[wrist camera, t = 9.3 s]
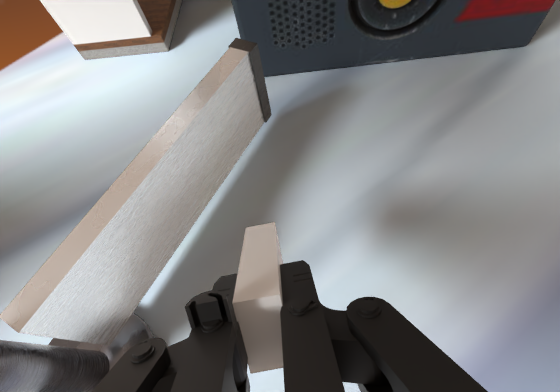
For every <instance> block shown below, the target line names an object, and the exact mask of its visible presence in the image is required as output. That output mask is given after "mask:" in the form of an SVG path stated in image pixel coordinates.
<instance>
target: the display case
mask: <svg viewBox="0 0 560 392" xmlns="http://www.w3.org/2000/svg"><path fill="white" fill-rule="evenodd" d="M40 1H41V3H42V4H43V5H44V6H45V8H46V9H47V10H48V12H49V13H50V14H51V16H52V17H53V18H54V20H55V21H56V22H57V24H58V25H59V26H60V28H61V29H62V30H63V32H64V33H65V34H66V36H67V37H68V38H69V40H70V41H71V42H72V44H73V45H74V46H75V47H76V49H77V50H78V51H79V53H80V54H81V55H82V57H83V58H84V59H85V60H88V59H98V58H108V57H117V56H127V55H137V54H147V53H157V52H166V51H169V47H170V43H171V40H172V36H173V32H174V29H175V25H176V22H177V18H178V14H179V11H180V7H181V3H182V0H40Z"/></svg>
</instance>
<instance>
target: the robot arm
mask: <svg viewBox="0 0 560 392" xmlns="http://www.w3.org/2000/svg"><path fill="white" fill-rule="evenodd" d="M185 309H186V312H187V315H188V319H189V322H190V325H191V328H192V330H191V333H190V336H189V337H188V338H187V339H185V340H183V341H181V342H178V343H176V344H173V345H171V346H168V347H167V346H166V343H165V341H164V340H163V339H160V338H150V339H146V340H144V341H141V342H139V343H137V344H136V345H134V346H132V347H131V348H130V349H129V350H128V351H127V352H125V353H124V355H123V356H122V357H121V358H120V359H119V360H118V362H117V363H116V364H115V365H114V366H113V367H112V369H111V370H110V371H109V372H108V373H107V374H106V376H105V377H104V378H103V379H102V380H101V382H100V383H99V384H98V385H97V386H96V387H95V389H94V390H93V391H92V392H250V384H249V379H248V376H247V364H248V365H249V369H250V373H256V372H262V371H267V370H273V369H278V368H283V369H284V386H285V392H345V390H344V387H343V383H342V382H350V383H357V384H358V386H359V389H360V391H361V392H488V391H486V390H485V389H484V388H483V387H482V386H481V385H480V384H479V383H478V382H476V381H475V380H474V379H473V378H472V377H471V376H470V375H469V374H467V373H466V372H465V371H464V370H463V369H462V368H461V367H460V366H459V365H457V364H456V363H455V362H454V361H453V360H452V359H451V358H450V357H448V356H447V355H446V354H445V353H444V352H443V351H442V350H441V349H440V348H438V347H437V346H436V345H435V344H434V343H433V342H432V341H431V340H429V339H428V338H427V337H426V336H425V335H424V334H423V333H422V332H421V331H419V330H418V329H417V328H416V327H415V326H414V325H413V324H412V323H410V322H409V321H408V320H407V319H406V318H405V317H404V316H403V315H401V314H400V313H399V312H398V311H397V310H396V309H395V308H394V307H393V306H391V305H390V304H389V303H388V302H386V301H385V300H383V299H380V298H376V297H363V298H358V299H356V300H354V301H352V302H351V303H350V304H349V305H348V306H347V311H339V310H332V309H329V308H327V307H325V306H323V305H322V304H321V303H320V301H319V299H318V296H317V292H316V288H315V285H314V281H313V277H312V273H311V270H310V266H309V265H308V264H307V263H306V262H304V261H303V260H302V261H297V262H291V263H286V264H283V260H282V255H281V250H280V245H279V240H278V235H277V230H276V225H275V222H272V223H267V224H262V225H256V226H251V227H246V230H245V235H244V241H243V246H242V252H241V258H240V263H239V269H238V274H233V275H227V276H222V277H220V278H219V279H218V281H217V282H216V283H215V284H214V287H213V290H212V291H208V292H205V293H201V294H199V295H197V296H195V297H194V298H192V299H191V300H190V301H189V302H188V303H187V304H186V306H185Z"/></svg>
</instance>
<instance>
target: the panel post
mask: <svg viewBox="0 0 560 392" xmlns="http://www.w3.org/2000/svg"><path fill="white" fill-rule="evenodd" d="M150 338H154V337H153V334H152V332H151V330H150V328H149V327H148V325H147V324H146V323H145V322H144V321H143V320H142V319H141V318H140V317H139V316H137V315H136V314H134V313H132V314H131V316H130V317H129V319H128V320H127V322H126V323H125V325H124V326H123V327H122V329H121V330H120V332H119V333H118V335H117V336H116V338H115V339H114V340H113V342H112V343H111V345H110V346H109V345H101V344H94V343H87V342H80V341H73V340H66V339H58V338H53V339H52V340H51V342H50V343H49V345H41V344H31V343H22V342H13V341H4V340H0V392H92V391H93V390H94V389H95V387H96V386H97V385H98V384H99V383H100V382H101V380H102V379H103V378H104V377H105V376H106V374H107V373H108V372H109V371H110V370H111V369H112V367H113V366H114V365H115V364H116V363H117V362H118V360H119V359H120V358H121V357H122V356H123V355H124V353H125V352H127V351H128V350H129V349H130V348H131V347H132V346H134V345H136V344H137V343H139V342H141V341H144V340H146V339H150Z"/></svg>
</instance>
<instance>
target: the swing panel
mask: <svg viewBox="0 0 560 392" xmlns="http://www.w3.org/2000/svg"><path fill="white" fill-rule="evenodd" d="M271 115H272V114H271V109H270V104H269V99H268V94H267V89H266V84H265V79H264V74H263V69H262V64H261V59H260V53H259V48H258V43H254V42H250V41H246V40H242V39H238V38H235V40H234V41H233V42H232V43H231V44H230V45H229V49H228V50H227V51H226V53H225V54H224V55H223V56H222V57H221V58H220V60H219V61H218V62H217V63H216V64H215V65H214V67H213V68H212V69H211V70H210V71H209V72H208V73H207V75H206V76H205V77H204V78H203V79H202V80H201V82H200V83H199V84H198V85H197V86H196V87H195V89H194V90H193V91H192V92H191V93H190V94H189V96H188V97H187V98H186V99H185V100H184V101H183V103H182V104H181V105H180V106H179V107H178V108H177V110H176V111H175V112H174V113H173V114H172V115H171V117H170V118H169V119H168V120H167V121H166V122H165V124H164V125H163V126H162V127H161V128H160V129H159V130H158V132H157V133H156V134H155V135H154V136H153V137H152V139H151V140H150V141H149V142H148V143H147V144H146V146H145V147H144V148H143V149H142V150H141V151H140V153H139V154H138V155H137V156H136V157H135V158H134V160H133V161H132V162H131V163H130V164H129V165H128V167H127V168H126V169H125V170H124V171H123V172H122V174H121V175H120V176H119V177H118V178H117V179H116V180H115V182H114V183H113V184H112V185H111V186H110V187H109V189H108V190H107V191H106V192H105V193H104V194H103V196H102V197H101V198H100V199H99V200H98V201H97V203H96V204H95V205H94V206H93V207H92V208H91V210H90V211H89V212H88V213H87V214H86V215H85V217H84V218H83V219H82V220H81V221H80V222H79V224H78V225H77V226H76V227H75V228H74V229H73V231H72V232H71V233H70V234H69V235H68V236H67V237H66V239H65V240H64V241H63V242H62V243H61V244H60V246H59V247H58V248H57V249H56V250H55V251H54V253H53V254H52V255H51V256H50V257H49V258H48V260H47V261H46V262H45V263H44V264H43V265H42V267H41V268H40V269H39V270H38V271H37V272H36V274H35V275H34V276H33V277H32V278H31V279H30V281H29V282H28V283H27V284H26V285H25V286H24V287H23V289H22V290H21V291H20V292H19V293H18V294H17V296H16V297H15V298H14V299H13V300H12V301H11V303H10V304H9V305H8V306H7V307H6V308H5V310H4V311H3V312H2V313H1V314H0V318H1V319H2V320H3V321H5V322H6V323H7V324H8V325H9V326H11V327H12V328H13V329H14V330H16V331H17V332H18V333H23V334H30V335H37V336H44V337H51V338H58V339H66V340H73V341H80V342H87V343H94V344H101V345H109V346H110V345H111V343H112V342H113V340H114V339H115V338H116V336H117V335H118V333H119V332H120V330H121V329H122V327H123V326H124V325H125V323H126V322H127V320H128V319H129V317H130V316H131V314H132V313H133V312H134V310H135V309H136V307H137V306H138V304H139V303H140V301H141V300H142V299H143V297H144V296H145V294H146V293H147V291H148V290H149V288H150V287H151V286H152V284H153V283H154V281H155V280H156V278H157V277H158V275H159V274H160V273H161V271H162V270H163V268H164V267H165V265H166V264H167V262H168V261H169V260H170V258H171V257H172V255H173V254H174V252H175V251H176V249H177V248H178V247H179V245H180V244H181V242H182V241H183V239H184V238H185V236H186V235H187V234H188V232H189V231H190V229H191V228H192V226H193V225H194V223H195V222H196V221H197V219H198V218H199V216H200V215H201V213H202V212H203V210H204V209H205V208H206V206H207V205H208V203H209V202H210V200H211V199H212V197H213V196H214V195H215V193H216V192H217V190H218V189H219V187H220V186H221V184H222V183H223V182H224V180H225V179H226V177H227V176H228V174H229V173H230V171H231V170H232V169H233V167H234V166H235V164H236V163H237V161H238V160H239V158H240V157H241V156H242V154H243V153H244V151H245V150H246V148H247V147H248V145H249V144H250V143H251V141H252V140H253V138H254V137H255V135H256V134H257V132H258V131H259V130H260V128H261V127H262V125H263V124H264V122H267V121H268V119H269V118H270V116H271Z"/></svg>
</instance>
